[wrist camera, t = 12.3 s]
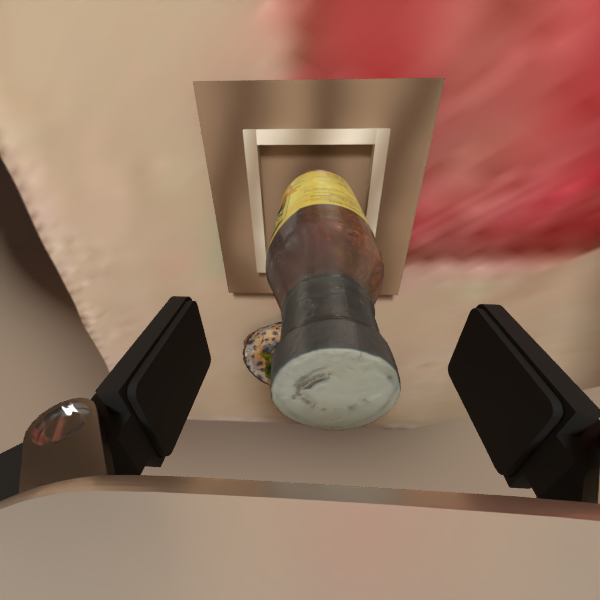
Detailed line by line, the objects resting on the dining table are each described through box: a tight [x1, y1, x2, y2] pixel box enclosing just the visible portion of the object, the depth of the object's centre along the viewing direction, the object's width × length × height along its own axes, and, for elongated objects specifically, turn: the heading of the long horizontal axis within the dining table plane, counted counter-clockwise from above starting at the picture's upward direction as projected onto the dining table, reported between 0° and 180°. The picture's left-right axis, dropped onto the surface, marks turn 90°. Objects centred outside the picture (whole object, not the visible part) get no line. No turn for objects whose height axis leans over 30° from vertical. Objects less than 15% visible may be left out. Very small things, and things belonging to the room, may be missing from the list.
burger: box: [243, 322, 282, 386], centre depth 34 cm, size 12×12×8 cm
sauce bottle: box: [265, 169, 401, 430], centre depth 16 cm, size 7×6×20 cm
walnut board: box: [193, 78, 445, 295], centre depth 25 cm, size 18×18×2 cm
